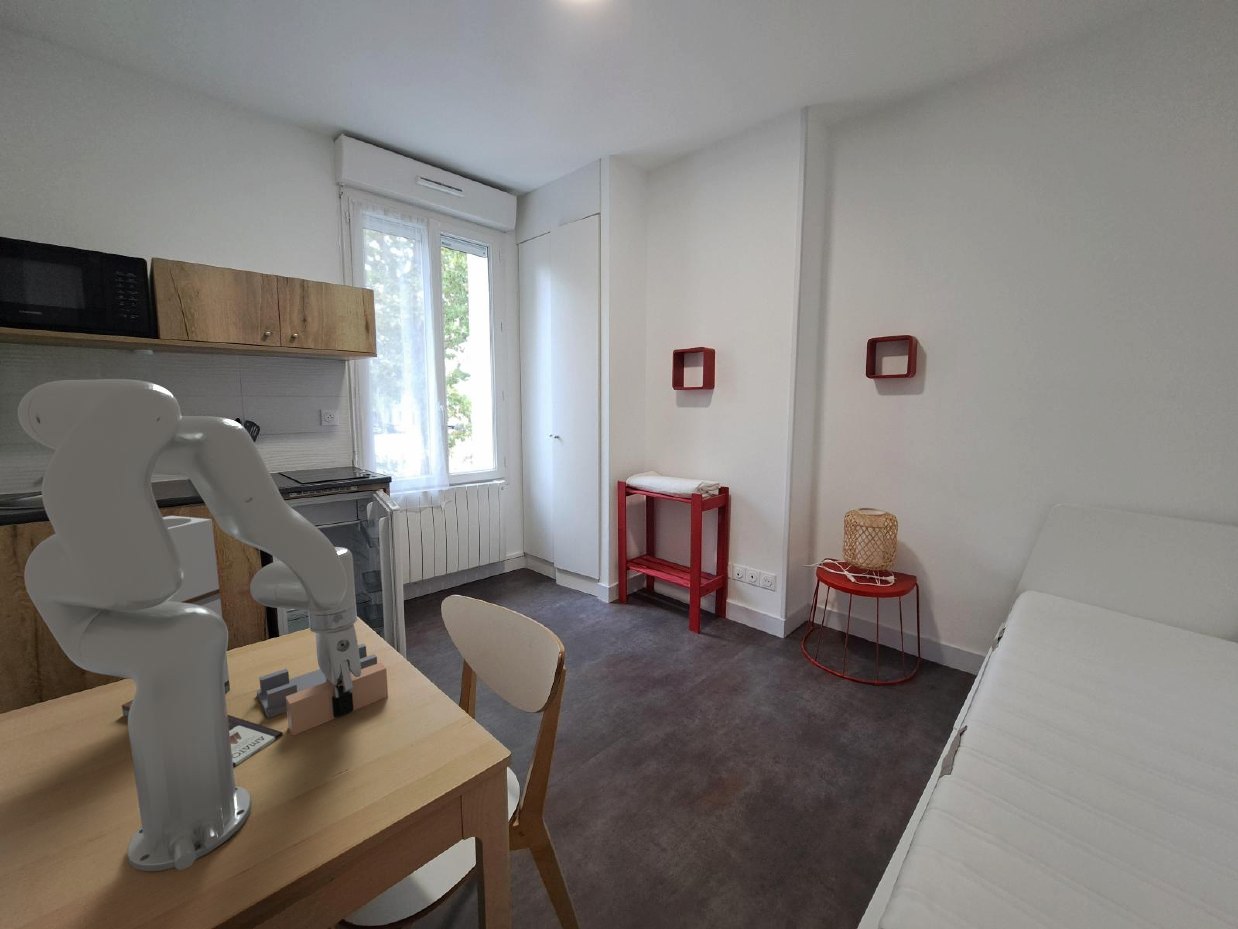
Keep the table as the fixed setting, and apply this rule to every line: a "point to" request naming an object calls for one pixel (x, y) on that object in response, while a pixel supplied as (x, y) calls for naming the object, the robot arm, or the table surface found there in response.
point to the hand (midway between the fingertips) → (340, 708)
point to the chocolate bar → (248, 738)
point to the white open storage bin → (195, 569)
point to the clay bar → (317, 700)
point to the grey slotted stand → (295, 684)
